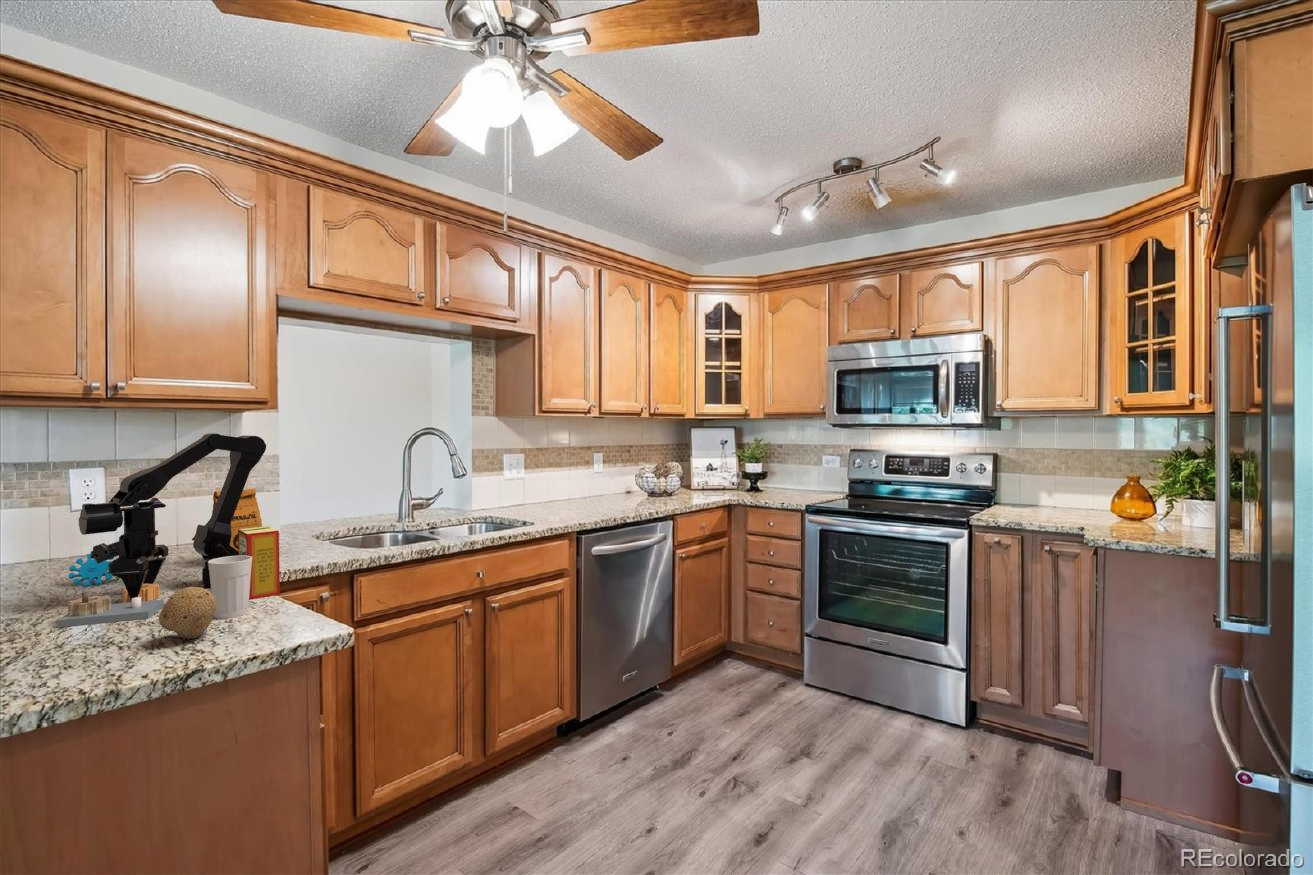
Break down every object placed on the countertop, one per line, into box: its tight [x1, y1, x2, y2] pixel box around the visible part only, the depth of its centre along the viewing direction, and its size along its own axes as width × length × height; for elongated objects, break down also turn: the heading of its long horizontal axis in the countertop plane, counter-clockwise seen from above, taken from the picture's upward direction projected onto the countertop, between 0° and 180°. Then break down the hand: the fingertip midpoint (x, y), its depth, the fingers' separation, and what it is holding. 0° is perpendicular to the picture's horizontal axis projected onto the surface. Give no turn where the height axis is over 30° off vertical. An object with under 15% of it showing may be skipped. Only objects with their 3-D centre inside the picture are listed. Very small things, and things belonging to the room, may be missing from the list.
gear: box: [67, 553, 122, 588], centre depth 165 cm, size 11×6×10 cm
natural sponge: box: [158, 586, 217, 639], centre depth 122 cm, size 9×9×10 cm
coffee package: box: [211, 487, 263, 551], centre depth 185 cm, size 10×12×22 cm
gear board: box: [56, 597, 165, 628], centre depth 136 cm, size 15×10×4 cm, turn 113°
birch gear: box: [67, 591, 112, 616], centre depth 134 cm, size 7×7×4 cm
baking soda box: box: [238, 525, 281, 601], centre depth 154 cm, size 10×6×16 cm
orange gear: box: [121, 582, 161, 603], centre depth 148 cm, size 7×7×3 cm
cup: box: [208, 556, 252, 619], centre depth 137 cm, size 8×8×12 cm
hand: (141, 594), depth 148 cm, fingers open, 9 cm apart
